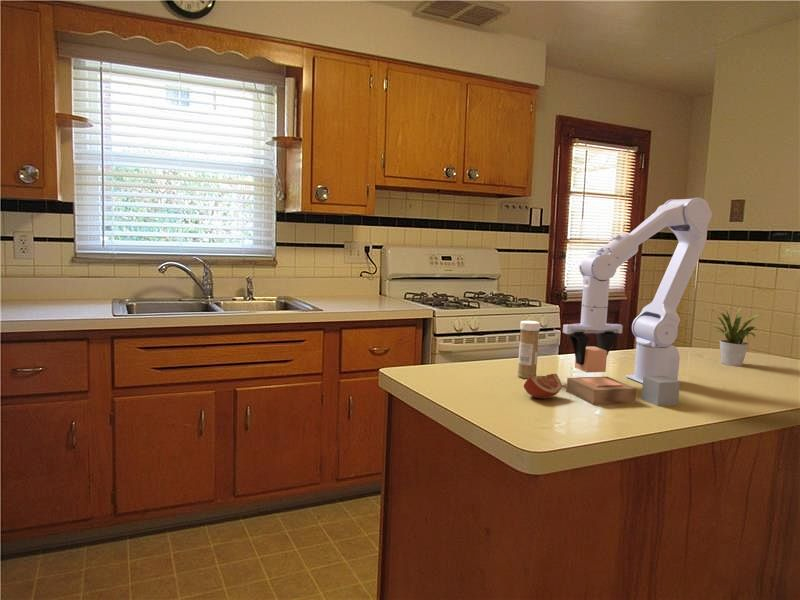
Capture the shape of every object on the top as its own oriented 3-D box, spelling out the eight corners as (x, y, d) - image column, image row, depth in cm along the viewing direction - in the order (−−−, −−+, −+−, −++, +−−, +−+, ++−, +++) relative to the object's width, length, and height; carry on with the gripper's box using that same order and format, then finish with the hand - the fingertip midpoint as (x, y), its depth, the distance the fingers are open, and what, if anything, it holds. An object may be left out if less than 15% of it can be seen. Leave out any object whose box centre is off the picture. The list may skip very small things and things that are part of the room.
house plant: (694, 363, 164) (700, 305, 162) (701, 355, 175) (707, 301, 173) (753, 372, 156) (760, 311, 154) (757, 363, 167) (764, 306, 165)
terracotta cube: (593, 366, 141) (594, 346, 140) (605, 371, 136) (607, 350, 136) (574, 367, 140) (576, 346, 139) (586, 372, 135) (588, 351, 134)
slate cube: (661, 398, 127) (663, 375, 126) (677, 405, 122) (680, 381, 121) (641, 399, 125) (643, 376, 125) (657, 406, 121) (659, 382, 120)
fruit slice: (543, 391, 128) (545, 369, 128) (568, 399, 123) (570, 376, 122) (516, 396, 123) (518, 373, 123) (541, 405, 118) (543, 381, 117)
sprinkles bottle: (540, 378, 140) (544, 322, 139) (526, 380, 138) (530, 323, 136) (526, 373, 144) (530, 319, 142) (512, 375, 141) (516, 320, 140)
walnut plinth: (605, 391, 132) (606, 375, 131) (634, 404, 122) (636, 386, 122) (566, 393, 129) (567, 376, 129) (592, 406, 119) (594, 388, 119)
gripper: (611, 303, 142) (607, 359, 144) (557, 303, 138) (553, 360, 140) (629, 307, 135) (625, 365, 137) (573, 308, 131) (569, 367, 133)
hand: (590, 363), depth 138 cm, fingers closed on terracotta cube, 5 cm apart
